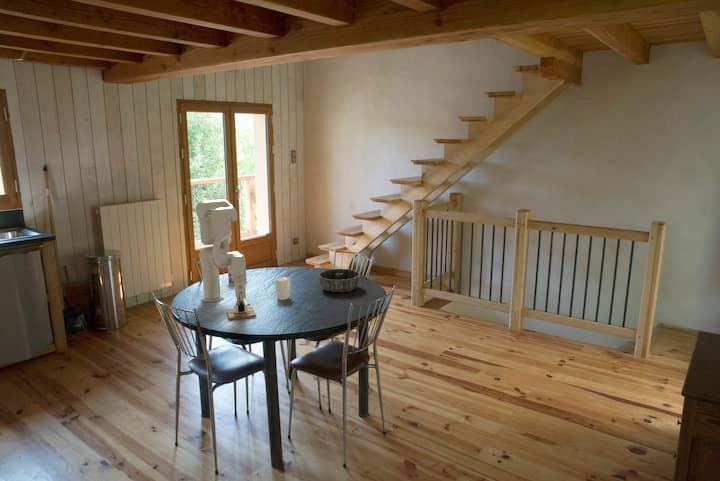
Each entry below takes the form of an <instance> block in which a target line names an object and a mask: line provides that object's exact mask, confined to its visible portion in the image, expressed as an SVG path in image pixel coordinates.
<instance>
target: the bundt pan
mask: <svg viewBox="0 0 720 481" xmlns="http://www.w3.org/2000/svg"><path fill="white" fill-rule="evenodd" d="M317 275H318V278H319V283H320V286H321V288H322V289H323V290H325V291H327V292H329V291H331V292H332V293H333V292H334V293H337V292H340V293H344V292H345V293H346V292H352V291H353V290H352V289H354V290H355V289H357V287H358V285H359V281H360V276H361V273H360V272H359V271H357V270H356V269H349V268H331V269H327V270H323V271H320V273H318V274H317Z"/></svg>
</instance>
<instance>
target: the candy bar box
mask: <svg viewBox="0 0 720 481" xmlns="http://www.w3.org/2000/svg"><path fill="white" fill-rule="evenodd" d="M246 265H247V264H246V263H245V266H246ZM246 267H247V266H246ZM227 275H228V283H229V284H234V282H233V281H232V275H231V266H229V267H227ZM245 283H247V279H246V281H245Z"/></svg>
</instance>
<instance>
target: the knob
mask: <svg viewBox="0 0 720 481" xmlns="http://www.w3.org/2000/svg"><path fill="white" fill-rule="evenodd" d="M247 307H251V303H250V302H247V301H245V300H244V308H245V311H244V312H248V311H247ZM233 309H234V311H235V313H242V312H238V302H237V301H235V302H233Z"/></svg>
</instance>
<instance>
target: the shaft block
mask: <svg viewBox="0 0 720 481" xmlns="http://www.w3.org/2000/svg"><path fill="white" fill-rule="evenodd" d="M238 305H239V304H238ZM247 311H248V312H242V313H235V311H234V308H230V309H226V315H227V317H228V321H238V320H245V319H254V318H257V314H256V311H255V310H254V307H253V306H247Z"/></svg>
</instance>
